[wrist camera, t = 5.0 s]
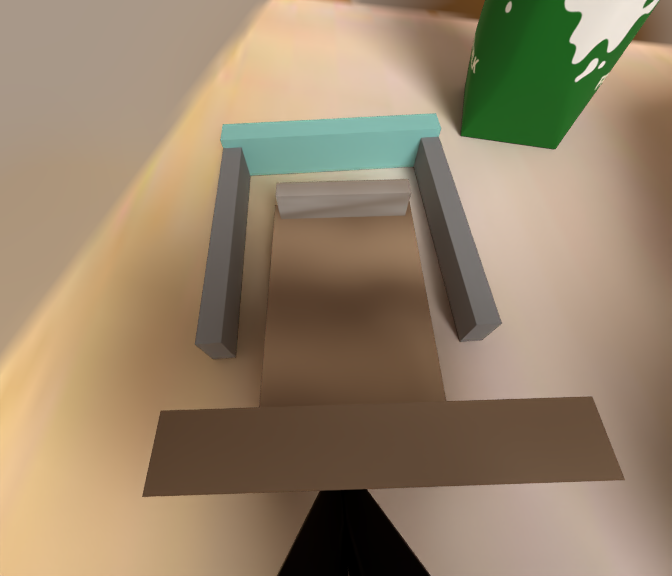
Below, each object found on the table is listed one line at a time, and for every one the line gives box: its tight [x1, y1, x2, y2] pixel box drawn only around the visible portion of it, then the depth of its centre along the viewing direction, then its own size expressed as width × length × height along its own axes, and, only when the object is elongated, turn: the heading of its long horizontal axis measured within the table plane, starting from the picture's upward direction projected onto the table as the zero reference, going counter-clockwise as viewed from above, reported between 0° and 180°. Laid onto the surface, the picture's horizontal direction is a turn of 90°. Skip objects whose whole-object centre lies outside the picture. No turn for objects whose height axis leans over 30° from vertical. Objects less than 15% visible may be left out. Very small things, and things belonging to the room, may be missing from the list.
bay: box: [195, 113, 502, 359], centre depth 19 cm, size 15×14×3 cm
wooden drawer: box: [142, 179, 625, 497], centre depth 13 cm, size 14×8×11 cm, turn 2°
